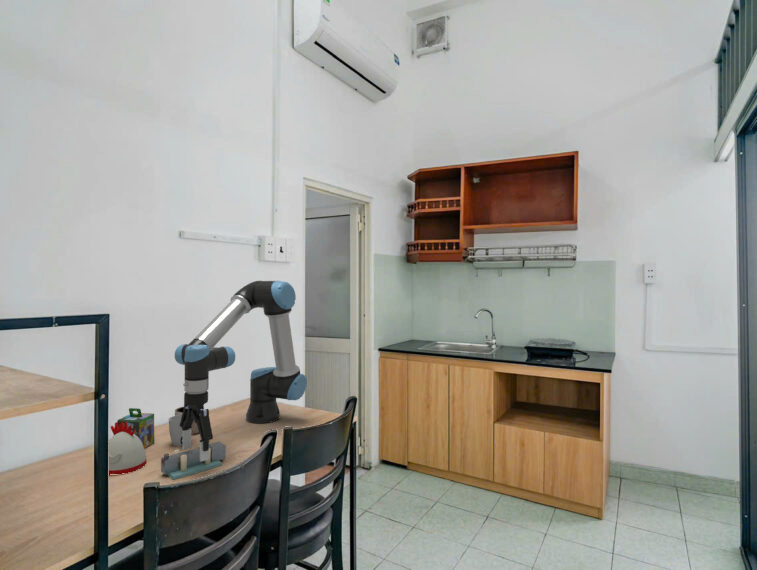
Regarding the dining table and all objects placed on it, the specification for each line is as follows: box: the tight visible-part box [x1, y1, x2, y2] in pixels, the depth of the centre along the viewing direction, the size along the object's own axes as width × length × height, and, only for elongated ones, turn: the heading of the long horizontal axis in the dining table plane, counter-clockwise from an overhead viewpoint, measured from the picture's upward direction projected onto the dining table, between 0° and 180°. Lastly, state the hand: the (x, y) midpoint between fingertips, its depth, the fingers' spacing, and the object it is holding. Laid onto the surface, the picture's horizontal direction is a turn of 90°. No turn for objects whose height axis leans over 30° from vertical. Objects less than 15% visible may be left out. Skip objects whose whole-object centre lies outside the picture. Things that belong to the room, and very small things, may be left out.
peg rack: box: [166, 443, 223, 481], centre depth 147 cm, size 16×10×6 cm, turn 136°
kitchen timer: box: [108, 421, 147, 476], centre depth 147 cm, size 14×14×15 cm
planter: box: [174, 406, 200, 436], centre depth 182 cm, size 11×11×10 cm
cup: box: [168, 415, 191, 447], centre depth 169 cm, size 8×8×10 cm
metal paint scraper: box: [160, 441, 227, 475], centre depth 148 cm, size 20×5×6 cm, turn 136°
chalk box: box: [116, 407, 155, 449], centre depth 165 cm, size 9×9×15 cm
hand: (195, 454), depth 148 cm, fingers open, 13 cm apart
